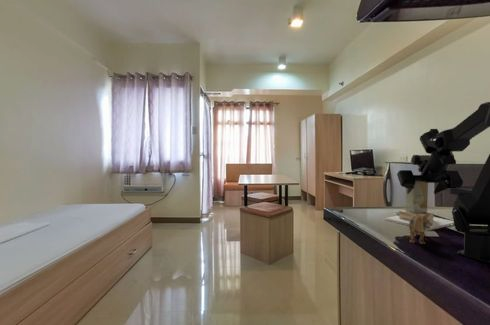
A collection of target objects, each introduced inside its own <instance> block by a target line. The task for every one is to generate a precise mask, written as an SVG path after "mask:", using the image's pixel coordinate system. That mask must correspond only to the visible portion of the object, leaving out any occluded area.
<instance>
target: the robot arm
mask: <svg viewBox="0 0 490 325" xmlns="http://www.w3.org/2000/svg"><path fill="white" fill-rule="evenodd" d="M489 128H490V101H486V102H484V103H481V104H480V105H479V106H478V108H477V109H476V110H475V111H474V112H473V113H471V114H469V115H468V116H467V117H466V118H465V119H463V120H462V121H461V122H459V123H458V124H457V125H456V126H455V127H453V128H449V129H448V128H447V129H444V130H442V131H439V129H438V128H430V129H429V131H427V132H424V133H423V134H422V135H420V137H419V141H420V143H421V145H422V147H423V149H424V151H425V153H426V154H423V155H422V154H421V155H420V154H413V155H412V156H411V160H410V162H411V163H412V165H413V166H417V167H418V169H417V171H418V172H420V174H414V173H413V171H412V170H411V169H400V170H398V172H397V174H396V176H397V179H398V181H399V184H400V186H401V187H403V188H404V189H405V193H406V192H407V194H409V193H410V192H411V191H412V189H413V188H414V185H415V182H425V183H428V184H429V183H431V184H437V185H436V186H435V187H434V188H435V189H434V191H433V193H434V195H438V194H441V193H443V192H446V191H449V190H455V189H457V188H462V187H463V185H464V183H465V180H464V179H463V176H462V175H461V174H460V172H459V170H455V169H452V170H451V169H449V170H448V168H449V166H450V165H457V160H456V159H455V155H454V153H456V152H464V150H466V149H467V148H468V147H469V145H471V140H472V139H473V138H475V137H476V136H477V135H480V134H481V133H482V132H484V131H485V130H487V129H489ZM453 152H454V153H453ZM427 154H428V155H427ZM453 205H454V206H453V207H452V210H451V214H452V215H451V216H452V221H454V225H453V226H454V230H456V231H457V232H458V233H463V234H464V235H463V236H464V237H463V238H464V239H463V250H458V251H457V254H458V255H461V256H464V257H468V258H470V259H474V260H478V261H481V262H483V263H490V153H489V154H488V157H487V159H486V160H485V163H484V164H483V166H482V169H481V171H480V172H479V174H478V177H477V178H476V180H475V182H474V185H473V187H472V189H471V191H469V192H467V191H466V192H465V191H464V192H463V191H462V192H459V194H457V198H456V200H455V201H454V202H453Z"/></svg>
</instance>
